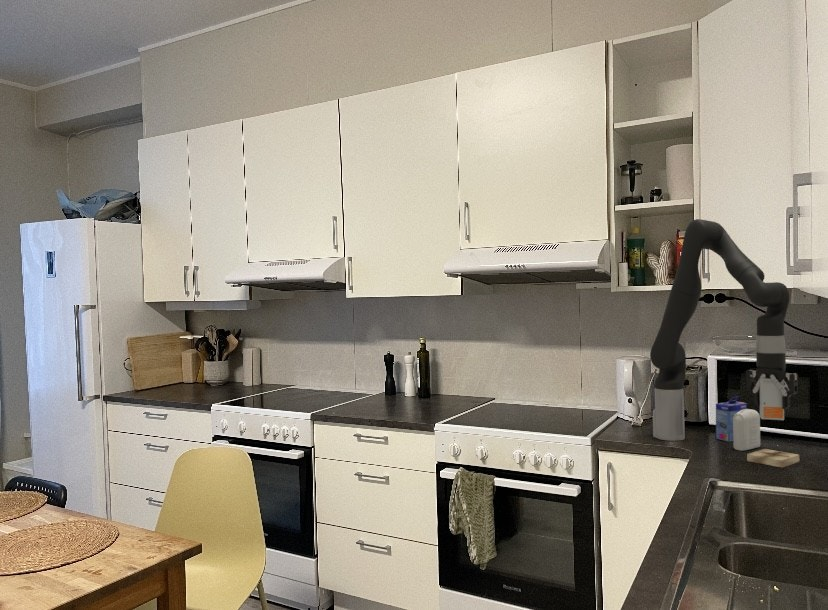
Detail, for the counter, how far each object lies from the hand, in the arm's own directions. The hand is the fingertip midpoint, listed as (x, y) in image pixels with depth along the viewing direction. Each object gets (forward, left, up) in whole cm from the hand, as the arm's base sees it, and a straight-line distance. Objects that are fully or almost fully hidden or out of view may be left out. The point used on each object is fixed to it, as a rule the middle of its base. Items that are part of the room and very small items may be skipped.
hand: (771, 407), depth 192 cm
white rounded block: (-13, +10, -16) cm, 23 cm away
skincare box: (0, 0, -4) cm, 4 cm away
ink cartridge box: (-23, +19, -16) cm, 34 cm away
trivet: (0, 0, -16) cm, 16 cm away
